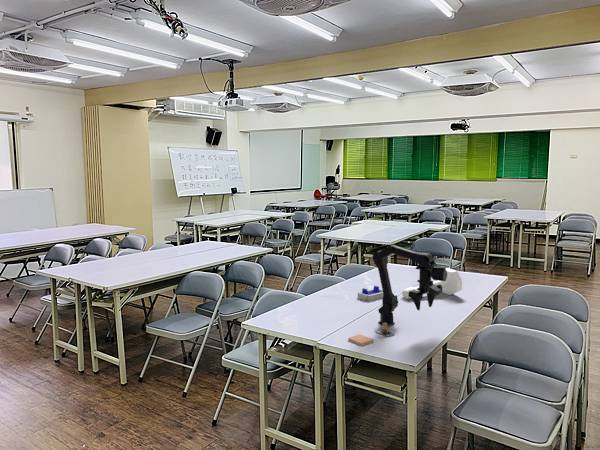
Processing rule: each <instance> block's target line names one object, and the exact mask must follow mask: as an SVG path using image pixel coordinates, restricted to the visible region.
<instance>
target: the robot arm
mask: <svg viewBox="0 0 600 450" xmlns="http://www.w3.org/2000/svg"><path fill="white" fill-rule="evenodd" d="M393 254H394V255H396V256H399V257H402V258H405V259H408V260H411V261H413V262H414V263H416V264H417V266H416V267H415V268H414V269H415V270H419V279H417V281H416V282H417V283H418V286H419V288H417V290H419V291H416V290H413V291H410V292H409V294H408V296H409V297H410V298H411V300H412V302H413V304H414V306H415V308H416V310H417V311H420V309H421V302H422V300H423V296H424V295H426V298H427V303H428V307H429V308H432V306H433V303H434V300H435V299H436V297H437V296H440V295H441V293H443V292H442V285H434V284H433V282H434V281H435V280H439V281H446V279H447V271H446V268H447V267H444V266H438V264H437V263H436V262H435V260H434V256H433V254H431V253H429V252H423V251H422V252H419V251H414V250H411V249H408V248H405V247H402V246H398V245H396V244H390V245H389V246H387V247H386V248H384V249H380V250H378V251H374V252H373V254H372V255H371V256H372V261H373V263H374V265H375V266H376V268H377V271H378V274H379V278H380V280H379V281H380V284H381V289H382V290H383V298H382V301H381V302H382V305H381V306H380V307H379V308H378V314H380V317H379V319H380V320H379V321H378V322H377V323H378V324H381V325H383V322H386V323H387V327H388V326H391V325H394V324H395V322H394V313H393V312H394V311H395V309H396V308H397V307H398V306H399V300H398V296H397V295H395V294H394V293H393V290H392V285H391V280H390V275H389V271H388V263H389V257H390V256H391V255H393Z"/></svg>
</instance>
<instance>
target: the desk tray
mask: <svg viewBox="0 0 600 450" xmlns="http://www.w3.org/2000/svg"><path fill="white" fill-rule="evenodd" d="M373 289H374V288H371V289H367V291H368V293H369V294H370V293H371V292H372V291H373ZM357 299H359V300H362V301H365V302H372V301H375V300H380V299H383V290H382V288H379V293H375V294H371V295H366V294H363V293H362V291H357Z"/></svg>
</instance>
